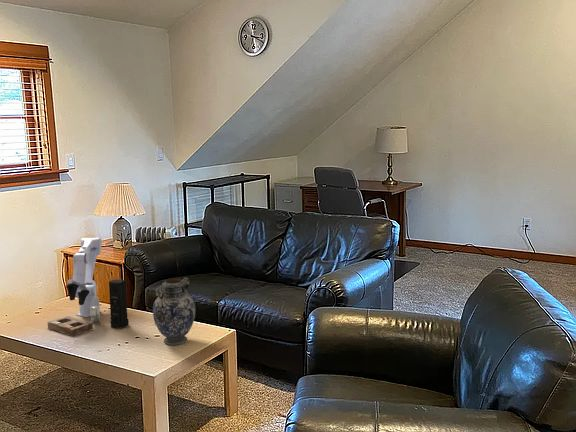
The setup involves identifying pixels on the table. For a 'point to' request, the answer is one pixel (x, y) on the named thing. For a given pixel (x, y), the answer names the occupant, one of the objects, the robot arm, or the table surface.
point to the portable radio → (118, 303)
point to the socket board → (70, 325)
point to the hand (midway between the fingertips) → (76, 302)
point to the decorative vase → (174, 310)
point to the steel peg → (95, 314)
